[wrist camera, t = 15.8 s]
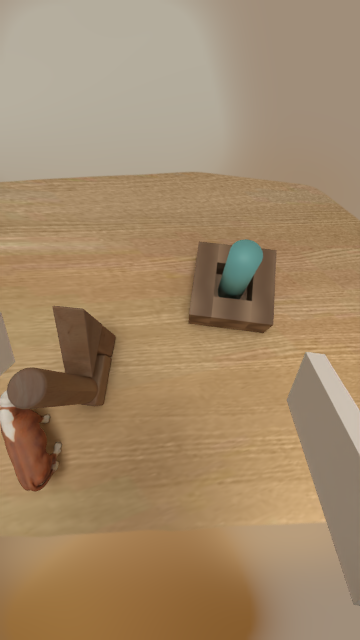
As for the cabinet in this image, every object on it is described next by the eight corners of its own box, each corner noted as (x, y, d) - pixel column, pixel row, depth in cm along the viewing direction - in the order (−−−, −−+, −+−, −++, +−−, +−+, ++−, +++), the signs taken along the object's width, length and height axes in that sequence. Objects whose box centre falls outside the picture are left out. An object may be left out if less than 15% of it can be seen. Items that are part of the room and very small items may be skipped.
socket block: (188, 323, 43) (189, 314, 38) (197, 257, 46) (198, 241, 41) (263, 332, 42) (273, 324, 37) (266, 265, 45) (276, 250, 40)
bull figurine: (47, 381, 41) (14, 378, 33) (71, 471, 37) (40, 492, 29) (19, 392, 40) (-21, 392, 32) (41, 484, 37) (2, 509, 29)
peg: (216, 301, 43) (227, 267, 31) (218, 279, 44) (230, 237, 32) (241, 304, 42) (262, 271, 31) (243, 281, 43) (263, 241, 32)
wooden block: (116, 335, 42) (69, 295, 25) (104, 405, 40) (41, 414, 22) (94, 333, 43) (31, 292, 25) (80, 402, 40) (-1, 409, 22)
